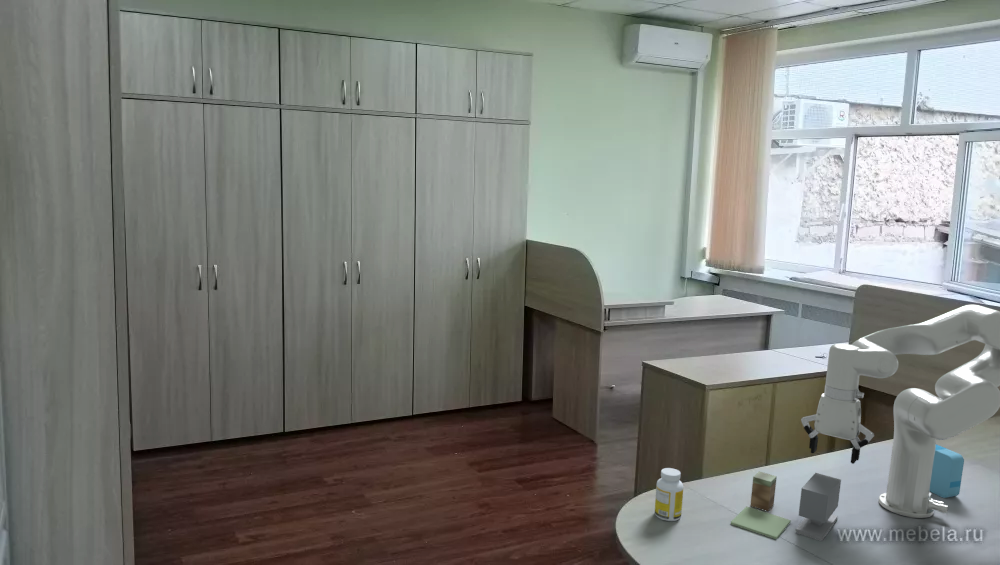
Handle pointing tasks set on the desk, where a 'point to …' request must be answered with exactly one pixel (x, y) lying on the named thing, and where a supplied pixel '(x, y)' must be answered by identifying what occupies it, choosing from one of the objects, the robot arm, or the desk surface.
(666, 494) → the pill bottle
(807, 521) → the mounted unit
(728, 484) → the desk surface
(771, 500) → the brown and green block
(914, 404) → the robot arm
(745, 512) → the mat
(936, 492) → the data package
